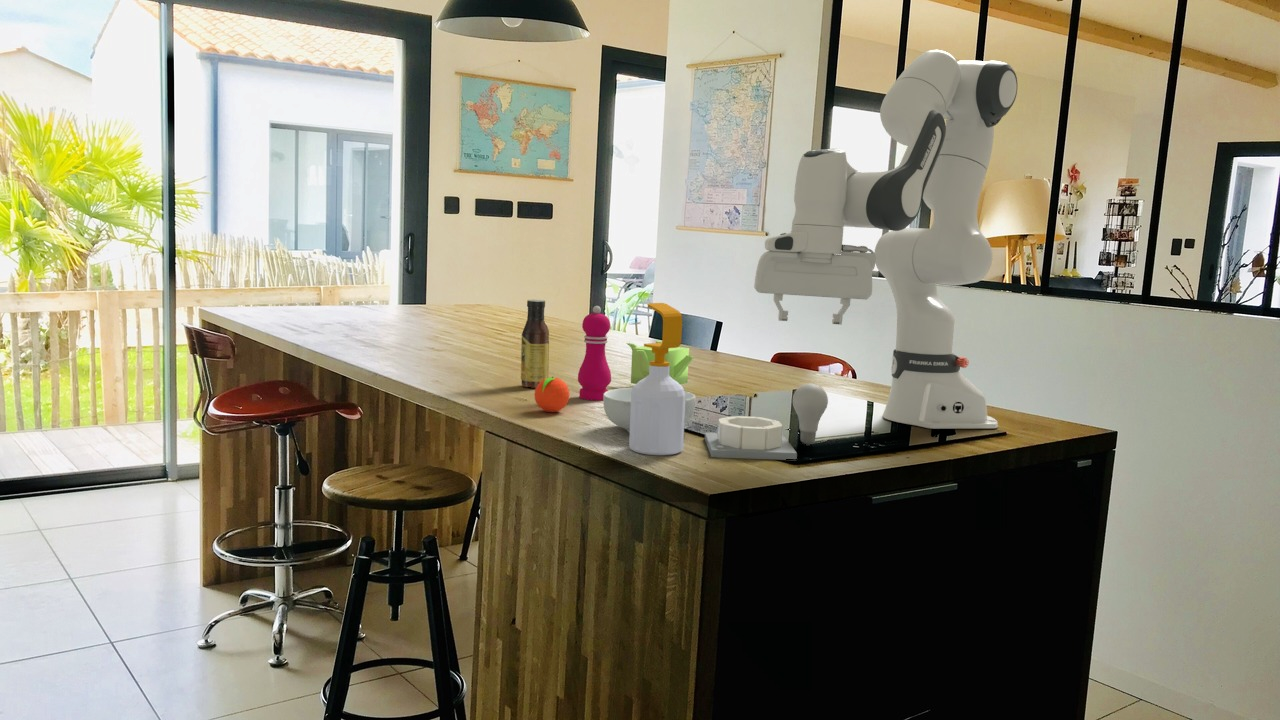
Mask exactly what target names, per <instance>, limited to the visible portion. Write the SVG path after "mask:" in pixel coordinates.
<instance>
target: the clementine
mask: <svg viewBox="0 0 1280 720" xmlns="http://www.w3.org/2000/svg"><path fill="white" fill-rule="evenodd" d="M569 389H570V388H569V387H568V385H567V383H566V382H565V381H564V380H562V379H560V378H558V377H554V376H551V377H548V378H545V379H543V380H542V381H541V382H540V383H539V384H538V385H537V387H536V388H534V400H535V403H536V404H537V406H538V407H539V408H540V409H541V410H543V411H545V412H547V413H556V412H560V411H561V410H563V409H564V408H565V407H566V406H567V404H568V402H569V399H570V390H569Z"/></svg>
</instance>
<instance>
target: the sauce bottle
mask: <svg viewBox="0 0 1280 720" xmlns="http://www.w3.org/2000/svg"><path fill="white" fill-rule="evenodd" d="M526 303H527V304H526V307H527V318H526V322H525V325H524V328H523V330H522V332H521V344H520V345H521V349H520V350H521V351H520V353H521V355H520V356H521V357H520V379H521V380H520V381H521V385H522V387H523V386H525V387H524V388H528V387H531V388H532V389H536V387H537V385H538V384H539V383H540V382H541V381H542V380H543V379H545V378H549V367H550V366H549V363H550V359H549V358H550V356H549V355H550V341H549V340H550V332H549V331H550V330H549V327H548V325H547V324H546V323H545V307H546V300H544V299H527V301H526ZM531 388H530V389H531Z"/></svg>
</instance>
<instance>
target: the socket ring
mask: <svg viewBox="0 0 1280 720" xmlns="http://www.w3.org/2000/svg"><path fill="white" fill-rule="evenodd" d="M717 422H718V423H717V424H718V425H717V433H718V441H719V444H722V445H726V446H730V447H735V448H741V449H761V450H765V449H772V448H776V447H781V445H782V435H783V429H784V428H783V426H784V425H782V423H781V422H780V421H779V420H776V419H771V418H766V417H762V416H759V417H758V416H746V415H745V416H744V415H732V416H727V417H721V418H718V421H717Z"/></svg>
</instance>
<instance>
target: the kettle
mask: <svg viewBox="0 0 1280 720" xmlns="http://www.w3.org/2000/svg"><path fill="white" fill-rule="evenodd" d="M655 343H662V340H656V341H655ZM625 344H627V346H629V347H630V349H631V368H630V369H631V371H630V372H631V373H630V384H634V385H635V384H636V383H638V382H639V381H640V380H642V379H644V378H646V377H647V376H648V375H649V367H650V361H655V353H652V348H650V347H644V345H643V346H637V344H635V343H633V342H632V343H631V342H626V343H625ZM694 357H695V356H693V355H690V348H689V347H683V346H682V347H681V346H679V347H677V348H669V350H668V353H666V354H665V361H666V362H669V363H670V364H669V376H670V377H671V378H672V379H674V380H675V381H677V382H678V383H679V384H680V385H683V384H687V383H688V379H689V376H688V375H689V365H690V363H691V362H692V361H693V359H694Z"/></svg>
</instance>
